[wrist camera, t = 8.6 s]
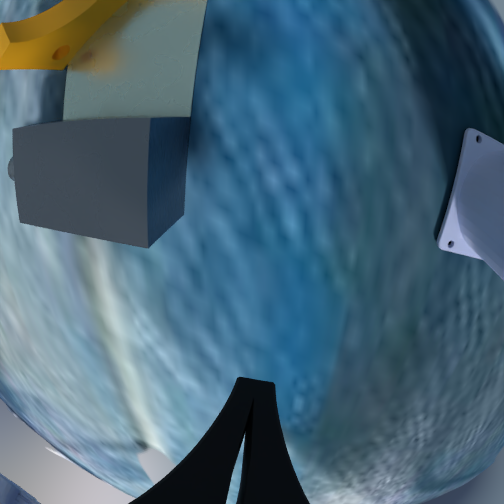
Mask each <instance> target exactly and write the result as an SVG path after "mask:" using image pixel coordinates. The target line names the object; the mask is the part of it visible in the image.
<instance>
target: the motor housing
mask: <svg viewBox="0 0 504 504" xmlns="http://www.w3.org/2000/svg"><path fill="white" fill-rule="evenodd" d="M207 2H208V0H128V1H127V2H126V3H124V4H123V5H122V6H121V7H120V8H119V9H118V10H117V11H116V12H115V13H114V14H113V15H112V16H111V17H110V18H109V19H108V20H107V21H106V22H105V23H104V24H103V25H102V26H101V27H100V28H99V29H98V30H97V31H96V32H95V33H94V34H93V35H92V36H91V37H90V38H89V39H88V41H87V42H86V43H85V44H84V45H83V46H82V47H81V49H80V50H79V51H78V52H77V53H76V54H75V56H74V57H73V58H72V59H71V61H70V62H69V63H68V69H67V77H66V86H65V97H64V113H63V120H60V121H53V122H47V123H41V124H35V125H29V126H24V127H19V128H14V129H13V157H12V158H11V159H10V161H9V164H8V174H9V177H10V178H11V179H12V180H13V181H15V189H16V198H17V206H18V213H19V220H20V223H24V224H29V225H34V226H39V227H43V228H48V229H53V230H58V231H62V232H67V233H72V234H77V235H82V236H87V237H92V238H97V239H102V240H107V241H112V242H117V243H122V244H127V245H132V246H137V247H143V248H149V247H150V246H151V245H152V244H153V243H154V242H155V241H156V240H157V239H158V238H160V237H161V236H162V235H163V234H164V233H165V232H166V231H167V230H168V229H169V228H170V227H171V226H172V225H173V224H174V223H175V222H176V221H177V220H179V219H180V218H181V217H182V216H183V215H184V202H185V183H186V167H187V153H188V141H189V130H190V119H191V109H192V100H193V92H194V84H195V76H196V68H197V61H198V54H199V48H200V41H201V35H202V29H203V23H204V18H205V12H206V7H207Z"/></svg>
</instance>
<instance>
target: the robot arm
mask: <svg viewBox="0 0 504 504" xmlns="http://www.w3.org/2000/svg"><path fill="white" fill-rule="evenodd" d="M476 136H478V138H479V140H478V142H477V141H476ZM449 241H451V244H450V245H448V243H449ZM437 245H438V247H439V248H440V249H442V250H446V251H450V252H454V253H458V254H462V255H466V256H470V257H474V258H478V259H482V260H484V261H485V262H486V263H487V264H488V265H489V266H490V267H491V268H492V269H493V270H494V271H495V272H496V273H497V274H498V275H499V276H500V277H501V279H502V280H503V281H504V144H502V143H500V142H498V141H497V140H495V139H493V138H491V137H489V136H487V135H485V134H483V133H481V132H479V131H477V130H475V129H472V128H468V129H466V130H465V133H464V139H463V144H462V149H461V154H460V159H459V164H458V168H457V173H456V177H455V181H454V185H453V189H452V193H451V196H450V200H449V203H448V207H447V210H446V214H445V217H444V220H443V223H442V226H441V229H440V232H439V235H438V238H437ZM245 431H246V432H245ZM244 434H245V442H244V453H243V464H242V474H241V482H240V489H239V493H238V498H237V503H236V504H310V503H309V501H308V499H307V498H306V496H305V494H304V492H303V489H302V487H301V485H300V483H299V481H298V478H297V476H296V473H295V471H294V468H293V466H292V463H291V460H290V457H289V454H288V451H287V448H286V444H285V441H284V437H283V433H282V429H281V424H280V420H279V415H278V409H277V402H276V391H275V384H274V383H273V382H267V381H261V380H255V379H250V378H244V377H238V378H237V380H236V383H235V385H234V388H233V390H232V392H231V394H230V396H229V398H228V400H227V402H226V404H225V405H224V407H223V409H222V410H221V412H220V413H219V415H218V416H217V418H216V420H215V421H214V423H213V424H212V425H211V427H210V428H209V429H208V431H207V432H206V433H205V435H204V436H203V437H202V439H201V440H200V441H199V442H198V444H197V445H196V446H195V447H194V448H193V449H192V450H191V452H190V453H189V454H188V455H187V456H186V457H185V458H184V459H183V460H182V461H181V462H180V463H179V464H178V465H177V466H176V467H175V468H174V469H173V470H172V471H171V472H170V473H169V474H167V475H166V476H165V477H164V478H163V479H162V480H161V481H159V482H158V483H157V484H155V485H154V486H153V487H152V488H150V489H149V490H148V491H146V492H145V493H144V494H142V495H141V496H139V497H138V498H136V499H135V500H133V501H132V502H130V503H129V504H226V500H227V496H228V491H229V486H230V482H231V477H232V472H233V469H234V466H235V463H236V460H237V457H238V454H239V451H240V447H241V444H242V441H243V438H244ZM0 504H41V503H39V502H38V501H37V500H36V499H35V498H34V497H33V496H31V495H30V494H29V493H27V492H26V491H25V490H23V489H22V488H21V487H19V486H18V485H17V484H15V483H14V482H12V481H10V480H9V479H7V478H6V477H5V476H3V475H2V474H1V473H0Z"/></svg>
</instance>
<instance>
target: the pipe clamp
mask: <svg viewBox="0 0 504 504" xmlns="http://www.w3.org/2000/svg"><path fill="white" fill-rule="evenodd" d="M127 1H128V0H63V1H61V2H60V3H58V4H57V5H55V6H54V7H52V8H50V9H48V10H46V11H44V12H43V13H40V14H38V15H36V16H33V17H31V18H28V19H25V20H21V21H17V22H9V23H1V24H0V70H10V69H47V70H64V68H65V67H66V66H67V64H68V63H69V62H70V61H71V59H72V58H73V57H74V56H75V54H76V53H77V52H78V51H79V50H80V49H81V47H82V46H83V45H84V44H85V43H86V42H87V41H88V39H89V38H90V37H91V36H92V35H93V34H94V33H95V32H96V31H97V30H98V29H99V28H100V27H101V26H102V25H103V24H104V23H105V22H106V21H107V20H108V19H109V18H110V17H111V16H112V15H113V14H114V13H115V12H116V11H117V10H118V9H119V8H120V7H121V6H122V5H123V4H124V3H126V2H127Z"/></svg>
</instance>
